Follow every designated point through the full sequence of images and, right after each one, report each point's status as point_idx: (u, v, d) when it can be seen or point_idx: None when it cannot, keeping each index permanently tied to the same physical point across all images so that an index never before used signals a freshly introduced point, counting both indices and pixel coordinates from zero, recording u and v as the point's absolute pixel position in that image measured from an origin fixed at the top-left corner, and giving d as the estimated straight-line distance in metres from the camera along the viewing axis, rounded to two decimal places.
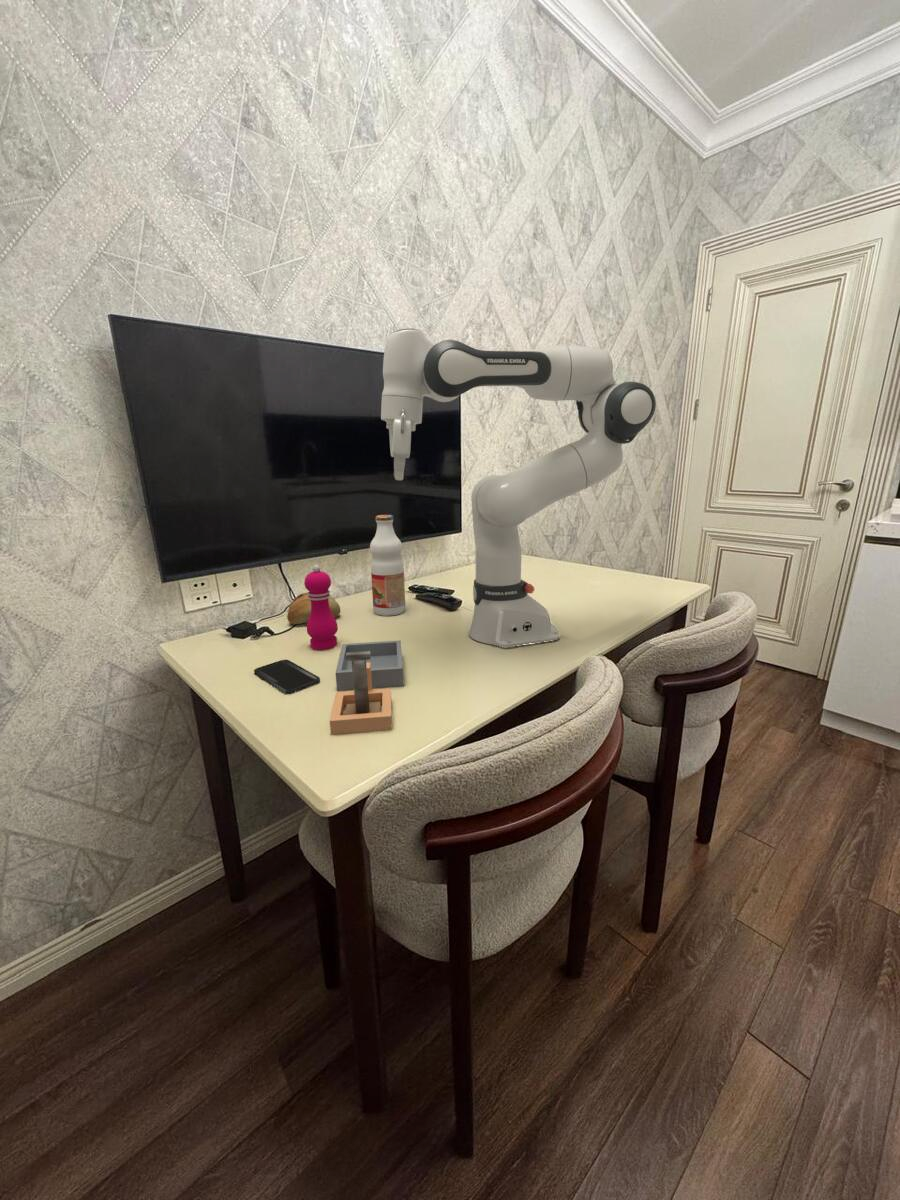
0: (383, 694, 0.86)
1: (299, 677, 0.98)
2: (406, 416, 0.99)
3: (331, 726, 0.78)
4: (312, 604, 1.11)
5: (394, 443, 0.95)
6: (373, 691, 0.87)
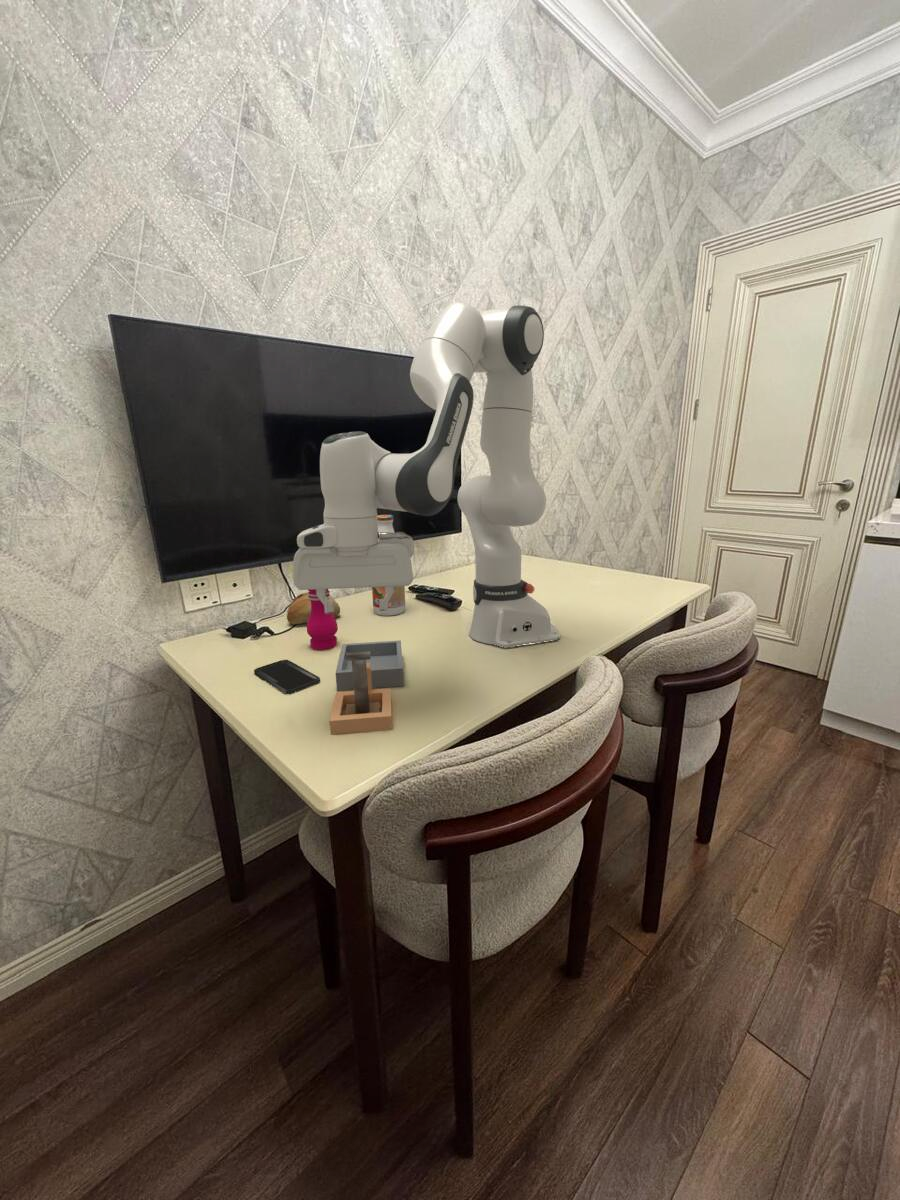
0: (383, 694, 0.86)
1: (299, 677, 0.98)
2: None
3: (331, 726, 0.78)
4: (312, 604, 1.11)
5: (412, 571, 0.82)
6: (373, 691, 0.87)
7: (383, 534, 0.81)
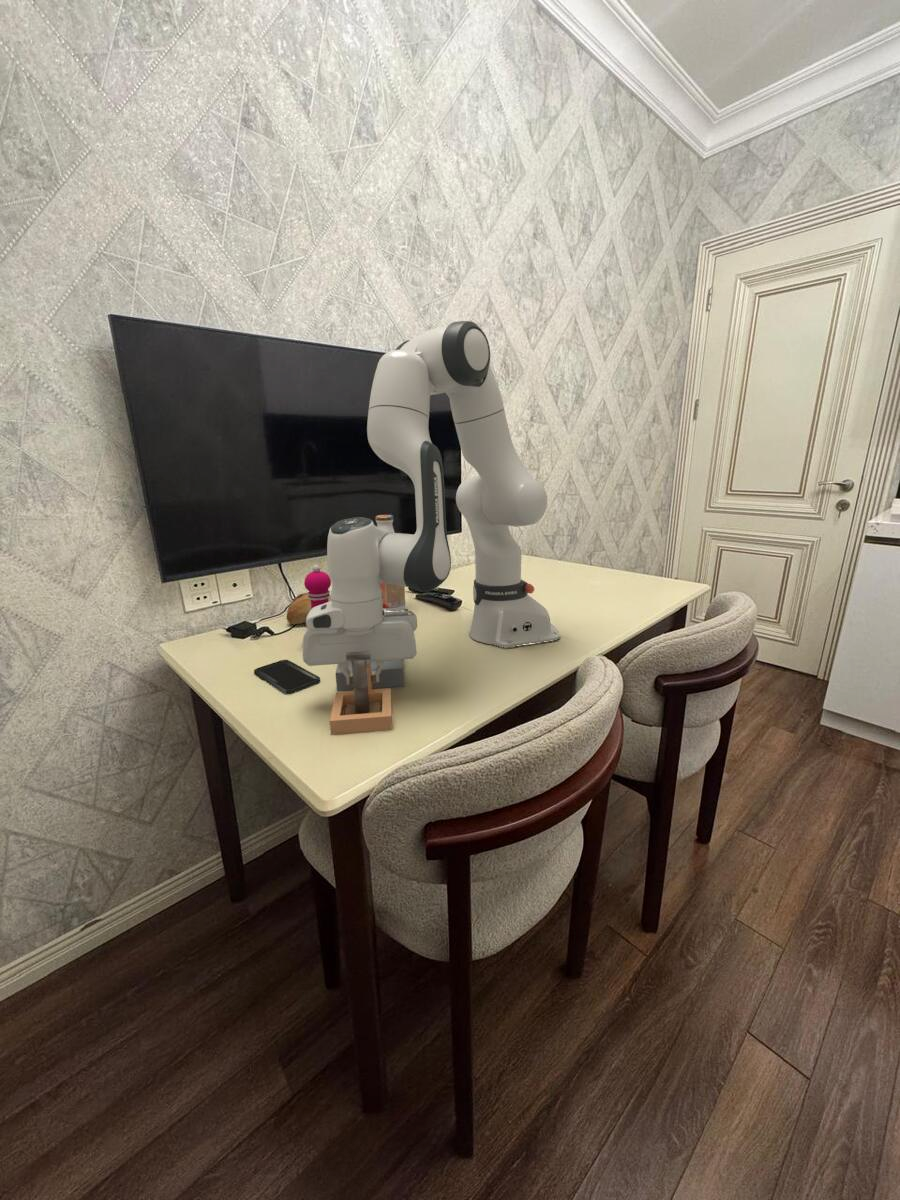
0: (383, 694, 0.86)
1: (299, 677, 0.98)
2: None
3: (331, 726, 0.78)
4: (312, 604, 1.11)
5: (415, 645, 0.86)
6: (373, 691, 0.87)
7: (388, 612, 0.85)
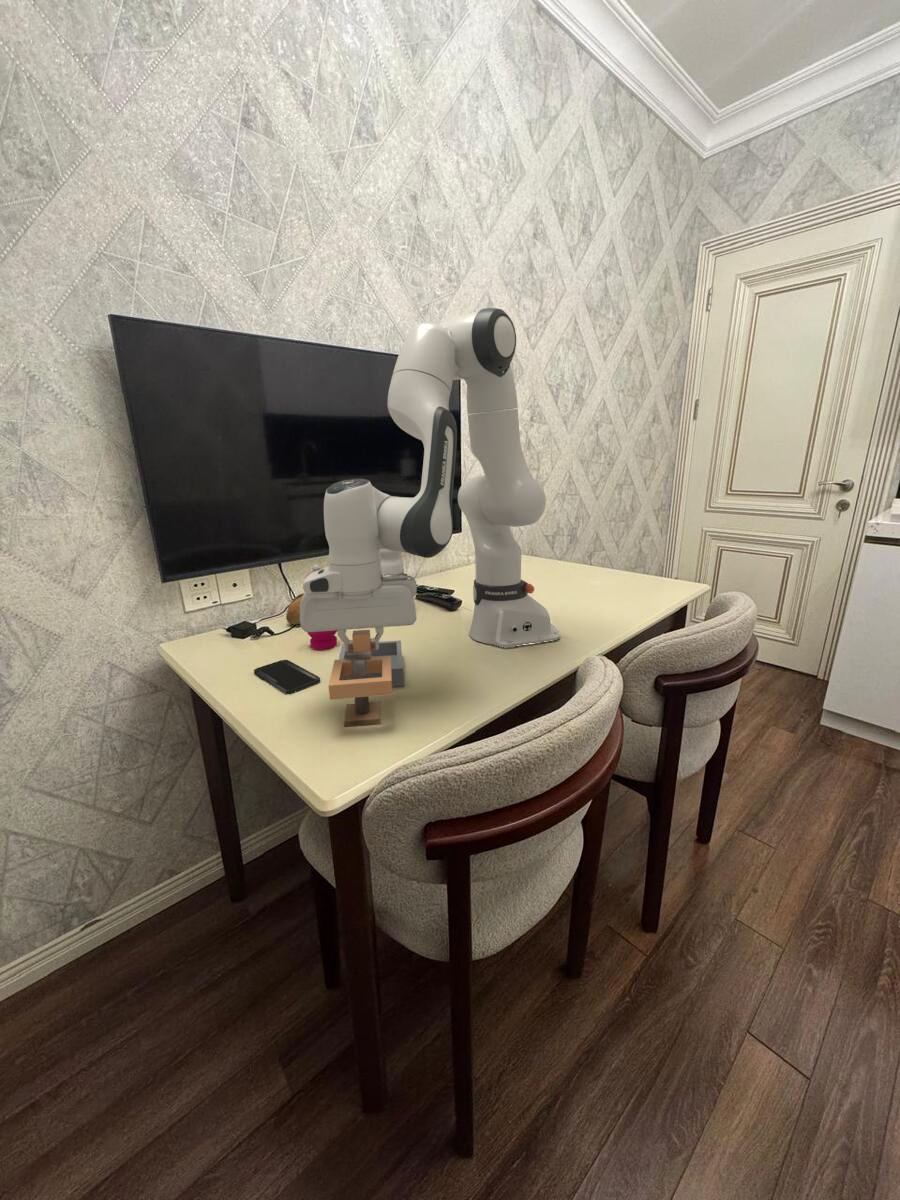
0: (383, 661, 0.84)
1: (299, 677, 0.98)
2: None
3: (330, 691, 0.76)
4: None
5: (415, 610, 0.84)
6: (373, 658, 0.85)
7: (386, 576, 0.83)
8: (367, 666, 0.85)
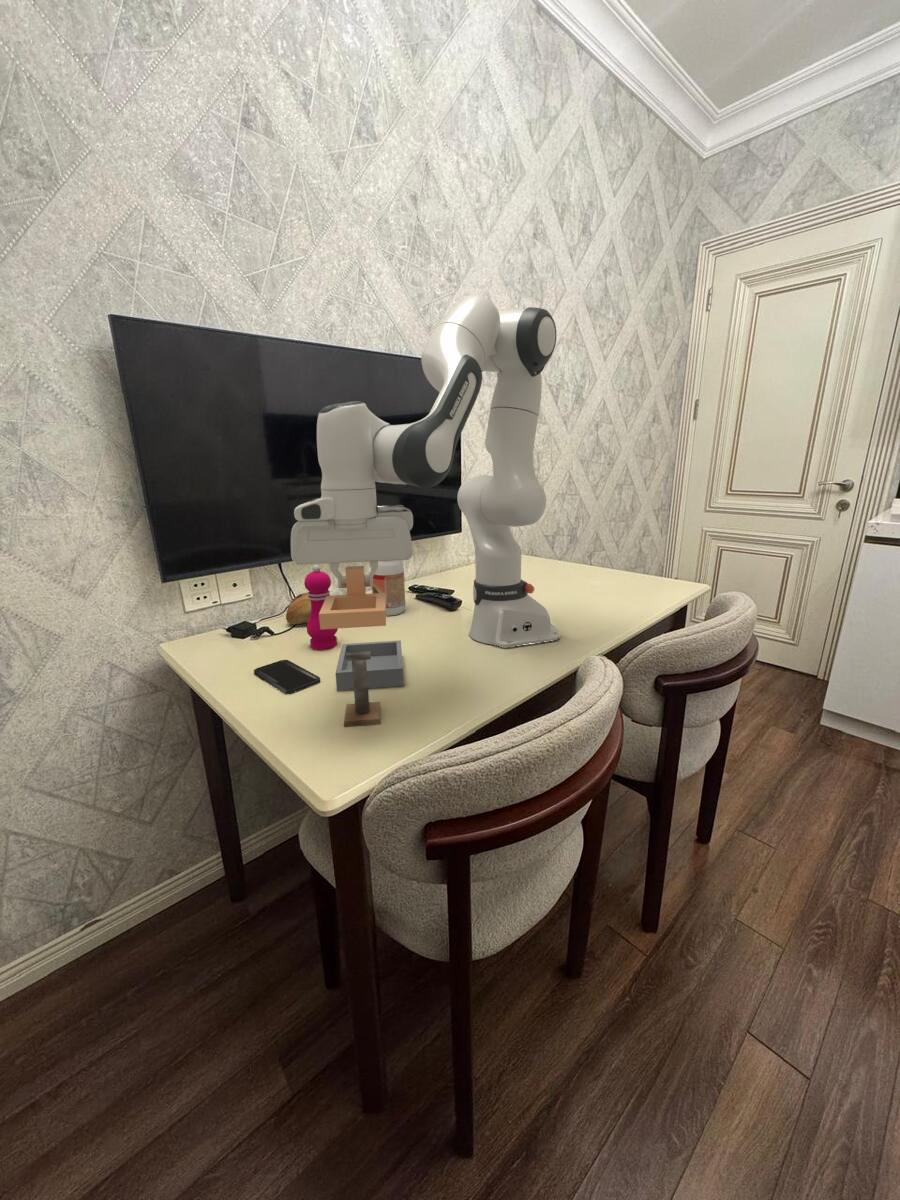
0: (377, 596, 0.81)
1: (299, 677, 0.98)
2: None
3: (320, 620, 0.73)
4: (312, 604, 1.11)
5: (411, 544, 0.81)
6: (366, 595, 0.82)
7: (382, 507, 0.79)
8: (360, 602, 0.81)
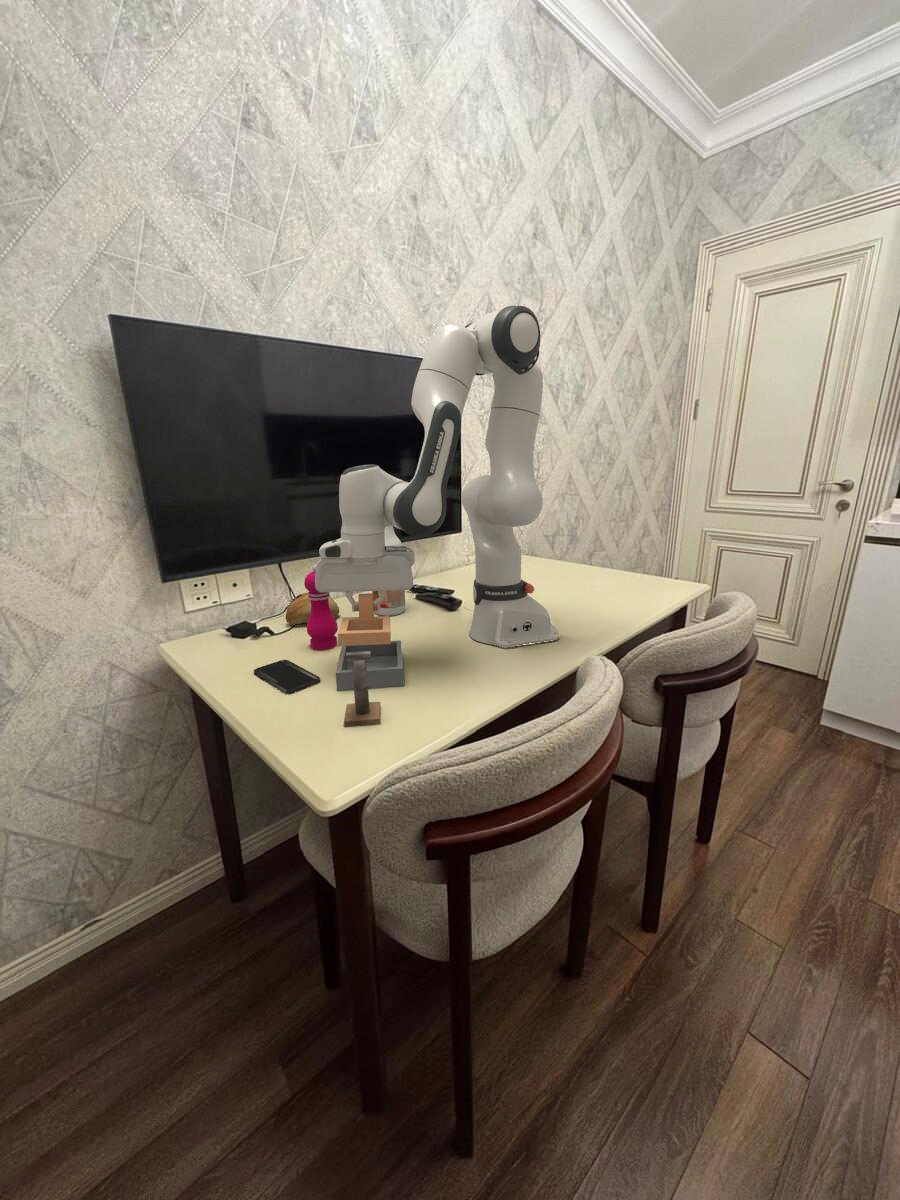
0: (383, 619, 1.00)
1: (299, 677, 0.98)
2: None
3: (339, 638, 0.91)
4: (312, 604, 1.11)
5: (412, 578, 1.00)
6: (375, 617, 1.01)
7: (389, 547, 0.98)
8: (370, 623, 1.00)
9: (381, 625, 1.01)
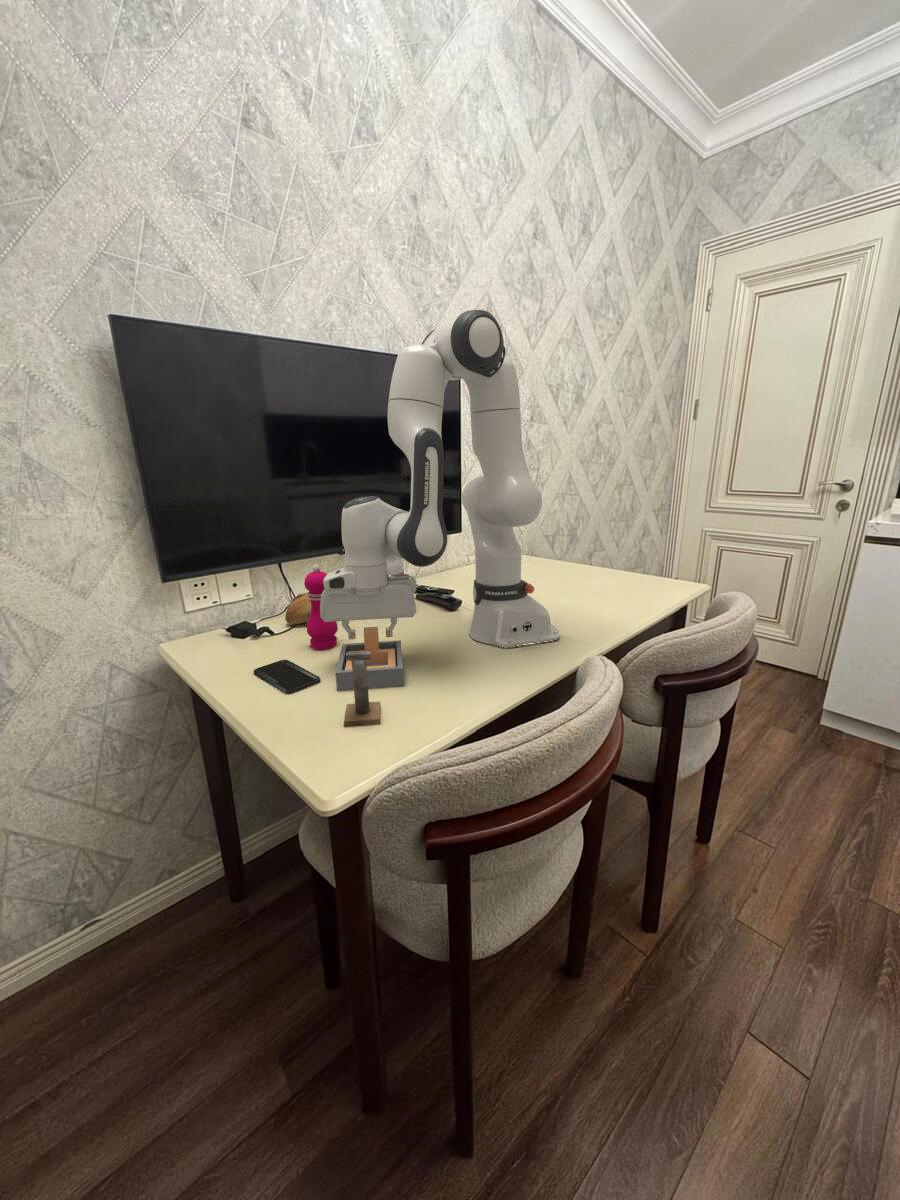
0: (388, 652, 1.02)
1: (299, 677, 0.98)
2: None
3: None
4: (312, 604, 1.11)
5: (415, 605, 1.02)
6: (380, 650, 1.03)
7: (392, 576, 1.00)
8: (375, 657, 1.03)
9: (386, 658, 1.03)
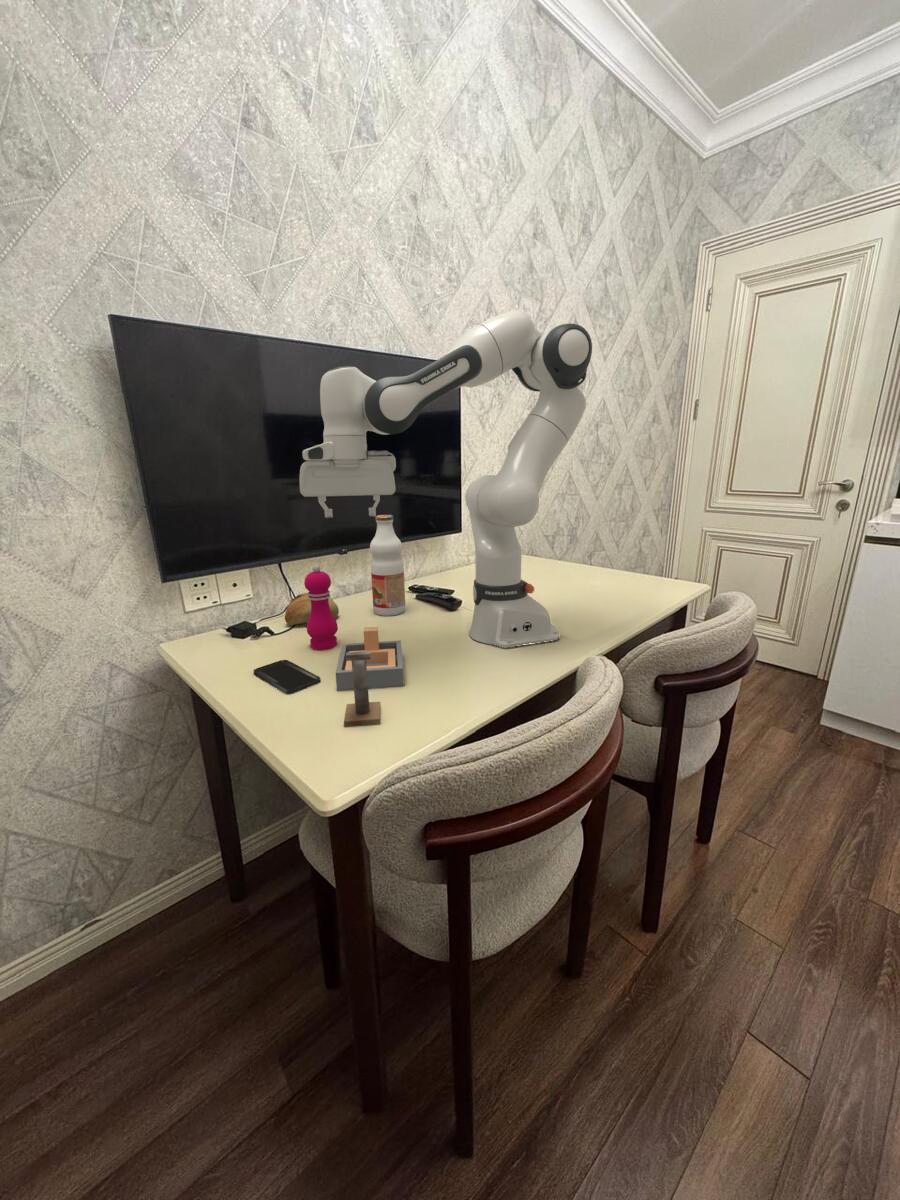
0: (388, 652, 1.02)
1: (299, 677, 0.98)
2: None
3: None
4: (312, 604, 1.11)
5: (394, 482, 1.03)
6: (380, 650, 1.03)
7: (371, 452, 1.01)
8: (375, 657, 1.03)
9: (386, 658, 1.03)
